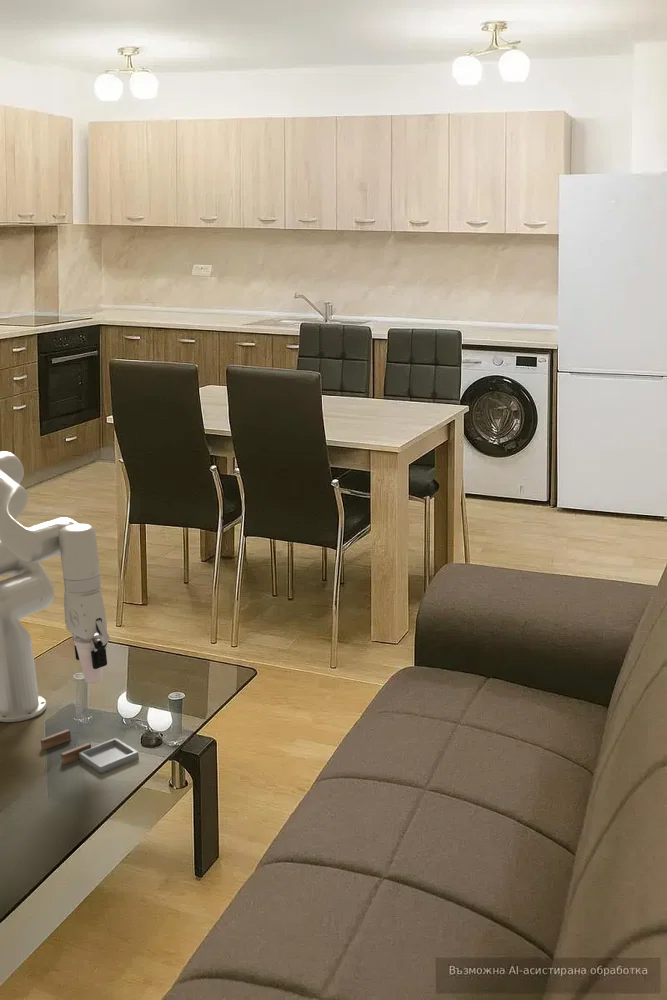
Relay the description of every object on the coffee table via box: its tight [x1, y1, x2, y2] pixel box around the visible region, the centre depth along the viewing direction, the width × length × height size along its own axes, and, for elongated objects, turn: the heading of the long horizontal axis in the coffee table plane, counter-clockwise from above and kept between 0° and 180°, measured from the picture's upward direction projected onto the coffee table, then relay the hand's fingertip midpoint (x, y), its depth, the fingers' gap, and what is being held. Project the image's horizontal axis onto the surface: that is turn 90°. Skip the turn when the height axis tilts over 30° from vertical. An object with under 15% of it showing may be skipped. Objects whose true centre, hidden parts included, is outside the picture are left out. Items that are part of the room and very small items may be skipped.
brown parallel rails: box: [40, 728, 92, 765], centre depth 236 cm, size 10×6×2 cm, turn 42°
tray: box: [78, 737, 140, 775], centre depth 232 cm, size 9×9×2 cm
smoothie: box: [73, 633, 104, 684], centre depth 235 cm, size 6×6×14 cm
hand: (91, 661), depth 235 cm, fingers closed on smoothie, 6 cm apart
